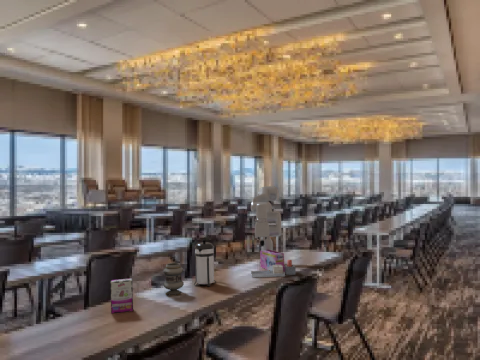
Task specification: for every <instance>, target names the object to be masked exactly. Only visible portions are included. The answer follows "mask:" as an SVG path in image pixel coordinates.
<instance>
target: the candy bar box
mask: <svg viewBox="0 0 480 360" xmlns="http://www.w3.org/2000/svg"><path fill="white" fill-rule="evenodd" d="M133 285H134V284H133V278H132V277H131V278H123V279H122V278H121V279H111V280H110V313H111V314H119V313H128V312H129V311H130V312H134V291H133V290H134V287H133Z"/></svg>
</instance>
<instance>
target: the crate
mask: <svg viewBox="0 0 480 360" xmlns="http://www.w3.org/2000/svg"><path fill="white" fill-rule="evenodd" d="M273 273H283V266H282V265H273Z"/></svg>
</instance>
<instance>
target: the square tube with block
mask: <svg viewBox="0 0 480 360" xmlns="http://www.w3.org/2000/svg"><path fill="white" fill-rule="evenodd" d="M296 268H297V267H296V266H295V264H292V266H287V264H284V272H285V276H296V275H297V273H296V271H297V270H296Z"/></svg>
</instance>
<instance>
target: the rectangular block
mask: <svg viewBox="0 0 480 360" xmlns="http://www.w3.org/2000/svg"><path fill="white" fill-rule="evenodd" d="M251 274H252V275H251ZM250 275H251V278H252V277H259V278H285V277H286V275H285V272H284V270H283V273H273V271H269V270H251V271H250Z"/></svg>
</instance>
